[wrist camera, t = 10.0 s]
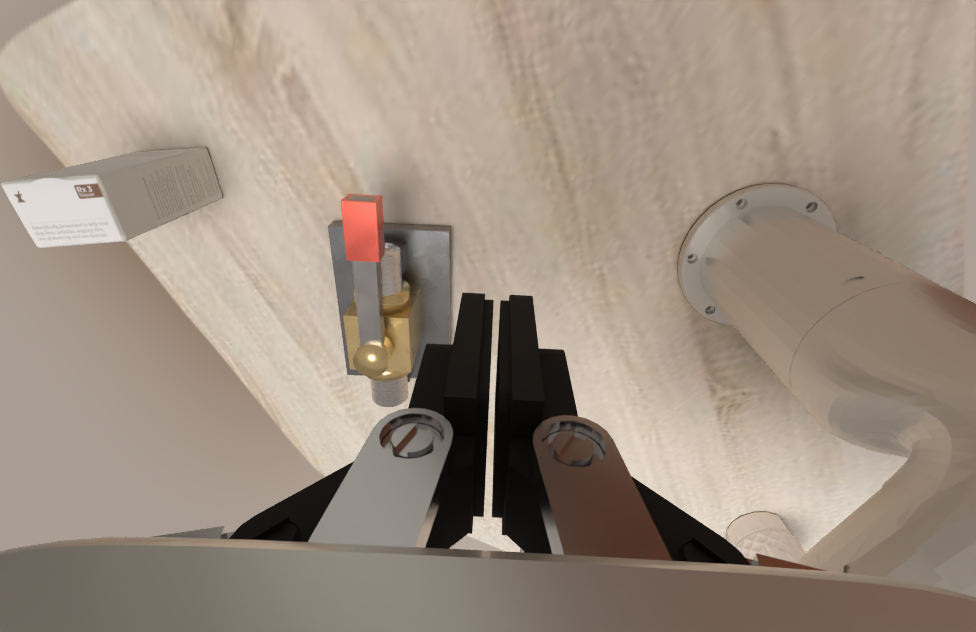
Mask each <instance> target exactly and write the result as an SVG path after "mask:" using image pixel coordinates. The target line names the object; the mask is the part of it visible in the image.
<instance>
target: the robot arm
mask: <svg viewBox="0 0 976 632" xmlns="http://www.w3.org/2000/svg"><path fill="white" fill-rule="evenodd" d="M739 200H740V202H739V203H738V204H736V203H737V202H738V201H739ZM691 254H692V255H691ZM689 255H691V256H690V257H688V256H689ZM678 278H679V284H680V286H681V289H682V292H683V294H684V295H685V297H686V298H687V300H688V302H689V303H690V304H691V305H692V306H693V307H694V309H695V310H696V311H697V312H699V313H700V314H701V315H702V316H704V317H705V318H707V319H710V320H712V321H714V322H717V323H721V324H725V325H730V326H734V327H735V328H736V329H737V330H738V332H739V333H740V334H741V335H742V336H743V337H744V339H745V340H746V341H747V342H748V343H749V344H750V346H751V347H752V348H753V349H754V350H755V351H756V353H757V354H758V355H759V356H760V357H761V358H762V360H763V361H764V362H765V363H766V364H767V366H768V367H769V368H770V369H771V370H772V371H773V373H774V374H775V375H776V376H777V377H778V378H779V380H780V381H781V382H782V383H783V384H784V385H785V387H786V388H787V389H788V390H789V391H790V392H791V394H792V395H793V396H794V397H795V398H796V399H797V401H798V402H799V403H800V404H801V405H802V406H803V408H804V409H805V410H806V411H807V412H808V413H809V414H810V416H811V417H812V418H813V419H814V420H816V421H817V422H818V423H819V424H820V425H821V426H822V427H824V428H825V429H826V430H828V431H829V432H830V433H832V434H833V435H835V436H837V437H839V438H841V439H843V440H845V441H847V442H849V443H851V444H854V445H856V446H859V447H862V448H866V449H869V450H872V451H876V452H880V453H885V454H890V455H895V456H900V457H906V458H909V459H908V460H907V462H906V463H905V464H904V465H903V466H902V467H901V468H900V469H899V470H898V471H897V472H896V473H895V474H894V475H893V476H892V477H891V478H889V479H888V480H887V481H886V482H885V483H884V484H883V486H882V488H881V489H880V490H879V491H878V492H877V493H875V494H874V495H873V496H872V497H871V498H870V499H868V500H867V501H866V502H865V503H864V504H862V505H861V506H860V507H859V508H858V509H857V510H855V511H854V512H853V513H852V514H851V515H850V516H848V517H847V518H846V519H845V520H844V521H842V522H841V523H840V524H839V525H838V526H837V527H835V528H834V529H833V530H832V531H831V532H830V533H828V534H827V535H826V536H825V537H824V538H822V539H821V540H820V541H819V542H818V543H817V544H816V545H814V546H813V547H812V548H811V549H810V550H809V551H808V552H807V553H806V554H805V555H804V556H803V557H802V558H801V559H800V560H799V561H798V563H793V562H789V561H785V560H781V559H777V558H773V557H769V556H765V555H761V554H757V553H756V554H755V557H754V559H753V560H752V559H748V558H745V557H744V556H743V554H742V553H741V552H740V551H739V550H738V549H737V548H736V547H734V546H733V545H732V544H731V543H729V542H728V541H727V540H726V539H724V538H723V537H721V536H720V535H718V534H717V533H715V532H714V531H712V530H711V529H709V528H708V527H706V526H705V525H703V524H702V523H700V522H699V521H697V520H696V519H694V518H693V517H691V516H690V515H688V514H687V513H685V512H684V511H682V510H681V509H679V508H678V507H676V506H675V505H673V504H672V503H670V502H669V501H667V500H666V499H664V498H663V497H661V496H660V495H658V494H657V493H655V492H654V491H652V490H651V489H649V488H648V487H646V486H645V485H643V484H642V483H640V482H639V481H637V480H636V479H634V478H633V477H631V475H630V473H629V471H628V469H627V467H626V465H625V463H624V461H623V459H622V457H621V455H620V453H619V451H618V449H617V447H616V445H615V443H614V441H613V439H612V438H611V436H610V435H609V434H608V432H607V431H606V430H605V429H603V428H602V427H601V426H600V425H598V424H596V423H594V422H592V421H590V420H588V419H585V418H581V417H578V414H577V409H576V405H575V400H574V395H573V390H572V385H571V380H570V375H569V370H568V366H567V361H566V356H565V352H564V350H557V349H539V348H538V339H537V331H536V322H535V314H534V305H533V297H532V296H521V295H510V297H509V301H501V303H500V320H499V339H498V357H497V375H496V394H495V425H494V462H493V499H492V517H498V518H502V535H507V536H508V537H509V538H510V539H511V540H513V541H514V542H515V543H516V544H517V545H518V546H519V547H520V548H521V550H520V552H501V551H481V550H461V549H453V545H454V544H455V543H456V542H458V541H459V540H460V539H462V538H463V537H464V536H465V535H467V534H468V533H472V526H473V516H478V517H483V516H484V495H485V474H486V452H487V431H488V410H489V388H490V366H491V344H492V322H493V300H485V294H478V293H462V298H461V304H460V309H459V315H458V320H457V326H456V332H455V337H454V343H453V345H451V344H430V343H427V344H426V346H425V350H424V353H423V357H422V361H421V364H420V368H419V371H418V375H417V379H416V382H415V386H414V390H413V393H412V397H411V401H410V404H409V408H408V409H403V410H399V411H396V412H394V413H391V414H389V415H387V416H386V417H384V418H383V419H381V420H380V421H379V422H378V423H377V425H376V426H375V427H374V428H373V430H372V431H371V433H370V435H369V437H368V438H367V440H366V442H365V444H364V445H363V447H362V449H361V451H360V452H359V454H358V456H357V457H356V459H355V461H354V462H352V463H350V464H348V465H347V466H345V467H343V468H341V469H339V470H337V471H336V472H334V473H332V474H330V475H328V476H327V477H325V478H323V479H321V480H319V481H317V482H316V483H314V484H312V485H310V486H309V487H307V488H305V489H303V490H301V491H299V492H298V493H296V494H294V495H292V496H290V497H288V498H287V499H285V500H283V501H281V502H279V503H277V504H276V505H274V506H272V507H270V508H268V509H266V510H265V511H263V512H261V513H259V514H257V515H256V516H254V517H253V518H251V519H250V520H248V521H247V522H245V523H244V524H242V525H241V526H240V527H239V528H238V529H237V530H236V532H230V533H226V530H225V527H224V526H221V527H215V528H208V529H202V530H194V531H188V532H181V533H174V534H167V535H161V536H154V537H107V538H106V537H105V538H91V539H78V540H65V541H57V542H51V543H44V544H38V545H31V546H25V547H18V548H12V549H9V550H4V551H0V632H976V304H975V303H973V302H971V301H969V300H967V299H965V298H963V297H961V296H959V295H957V294H956V293H954V292H952V291H950V290H948V289H946V288H944V287H942V286H940V285H938V284H936V283H934V282H932V281H930V280H928V279H927V278H925V277H923V276H921V275H919V274H917V273H915V272H913V271H911V270H909V269H907V268H905V267H904V266H902V265H900V264H898V263H896V262H894V261H892V260H890V259H888V258H886V257H884V256H882V255H881V254H880V253H879V252H877V251H873V250H871V249H869V248H867V247H865V246H863V245H861V244H860V243H858V242H856V241H854V240H852V239H850V238H848V237H846V236H844V235H842V234H840V233H838V231H837V226H836V221H835V219H834V217H833V215H832V213H831V211H830V209H829V208H828V207H827V206H826V205H825V204H824V202H823V201H822V200H820V199H819V198H817V197H816V196H815V195H813V194H812V193H810V192H808V191H805V190H803V189H801V188H798V187H794V186H790V185H786V184H771V183H769V184H762V185H755V186H751V187H748V188H745V189H742V190H739V191H737V192H735V193H733V194H731V195H729V196H727V197H725V198H723V199H722V200H720V201H719V202H717V203H716V204H715V205H713V206H712V207H710V208H709V209H708V210H707V211H706V212H705V213H704V214H703V215H702V216H701V217H700V218H699V219H698V220H697V222H696V223H695V224H694V226H693V227H692V228H691V230H690V231H689V233H688V235H687V237H686V239H685V241H684V243H683V245H682V248H681V252H680V255H679V260H678Z"/></svg>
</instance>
